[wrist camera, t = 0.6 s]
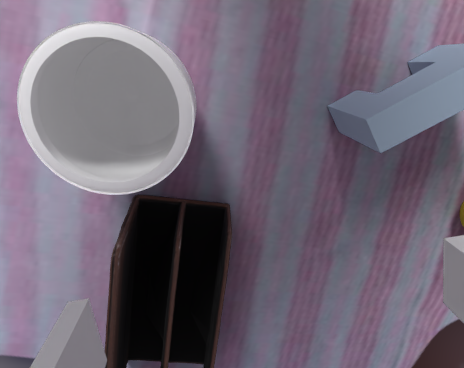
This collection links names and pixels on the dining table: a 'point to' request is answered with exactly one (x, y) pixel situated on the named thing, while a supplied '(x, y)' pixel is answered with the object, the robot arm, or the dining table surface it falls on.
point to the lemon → (462, 213)
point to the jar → (106, 107)
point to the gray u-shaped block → (405, 101)
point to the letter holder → (168, 282)
